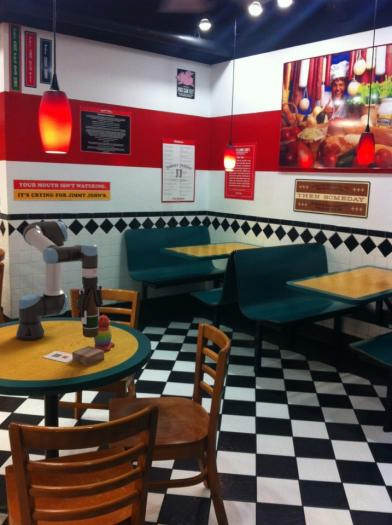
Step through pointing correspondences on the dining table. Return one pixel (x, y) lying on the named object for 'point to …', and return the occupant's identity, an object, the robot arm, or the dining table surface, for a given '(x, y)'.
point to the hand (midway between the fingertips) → (90, 321)
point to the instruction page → (59, 356)
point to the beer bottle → (91, 318)
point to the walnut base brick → (88, 356)
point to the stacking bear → (104, 335)
